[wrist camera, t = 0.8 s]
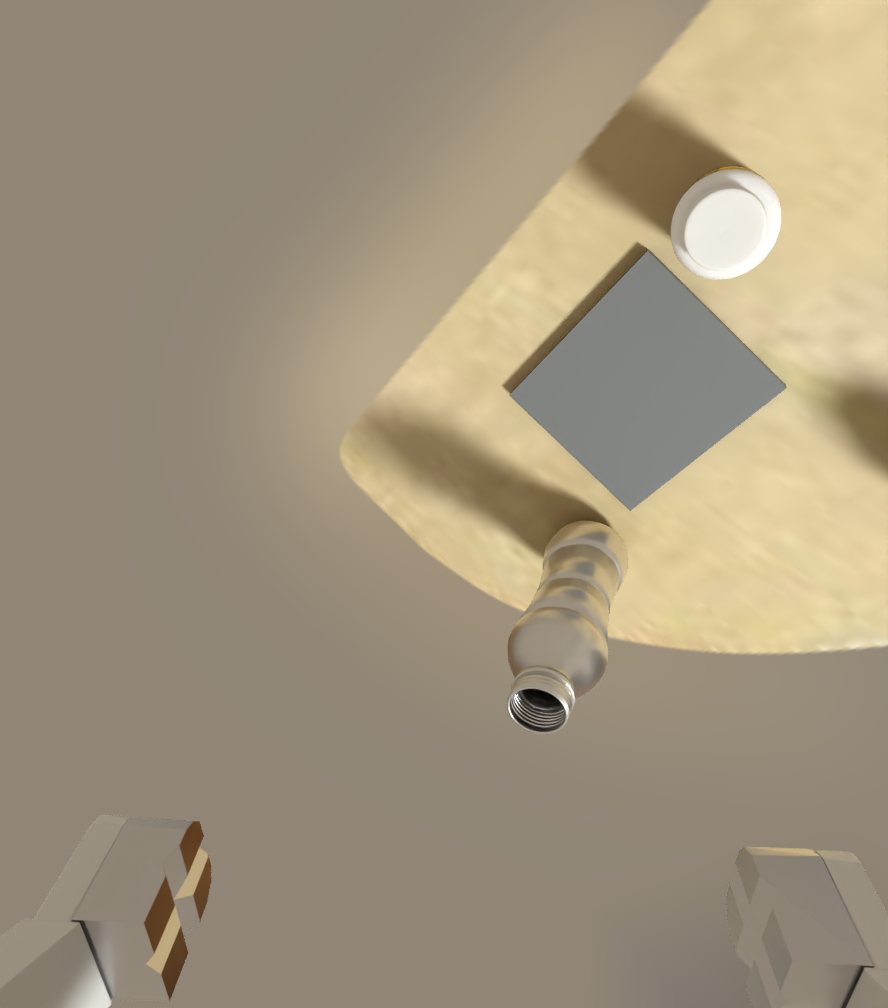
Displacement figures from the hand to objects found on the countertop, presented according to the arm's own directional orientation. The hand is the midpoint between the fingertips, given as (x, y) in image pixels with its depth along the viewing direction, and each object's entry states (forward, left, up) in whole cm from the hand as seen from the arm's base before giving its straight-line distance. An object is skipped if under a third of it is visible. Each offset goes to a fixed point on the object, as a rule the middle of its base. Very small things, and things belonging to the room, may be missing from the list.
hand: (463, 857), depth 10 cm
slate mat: (+5, +3, -43) cm, 44 cm away
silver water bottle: (+17, +10, -44) cm, 48 cm away
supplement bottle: (-6, -2, -44) cm, 44 cm away
